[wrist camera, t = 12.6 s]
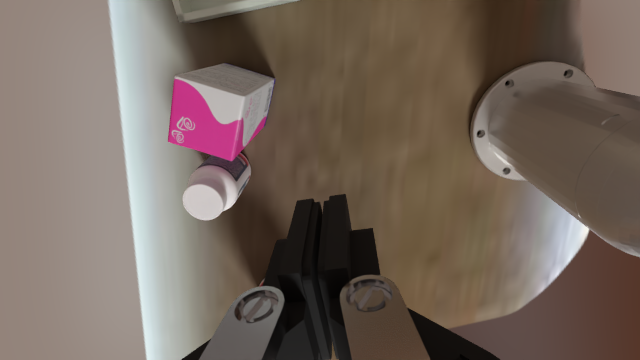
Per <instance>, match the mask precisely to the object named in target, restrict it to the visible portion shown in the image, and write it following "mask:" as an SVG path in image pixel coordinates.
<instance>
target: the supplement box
mask: <svg viewBox="0 0 640 360" xmlns="http://www.w3.org/2000/svg"><path fill="white" fill-rule="evenodd" d="M274 84H275V78H272V77H269V76H266V75H263V74H260V73H256V72H253V71H250V70H247V69H244V68H241V67H238V66H234V65H231V64H228V63H223V64H219V65H215V66H211V67H207V68H203V69H199V70H195V71H191V72H187V73H183V74H178V75H175V77H174V86H173V96H172V106H171V116H170V126H169V135H168V142H170V143H173V144H177V145H180V146H184V147H187V148H191V149H194V150H198V151H201V152H204V153H207V154H210V155H214V156H217V157H220V158H223V159H226V160H229V161H233V160H234V159H235V157H236V156H237V155H238V154H239V153H240V152H241V151H242V150H243V149H244V148H245V147H246V145H247V144H248V143H249V142H250V141H251V140H252V139H253V138H254V137H255V136H256V135H257V134H258V132H259V131H260V130H261V129H262V128H263V127H264V126H265V123H266V119H267V115H268V111H269V107H270V102H271V98H272V93H273V89H274Z"/></svg>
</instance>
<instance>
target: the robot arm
mask: <svg viewBox="0 0 640 360" xmlns="http://www.w3.org/2000/svg"><path fill="white" fill-rule="evenodd" d="M564 72H565V74H564ZM506 81H508V83H507V85H505V82H506ZM479 130H480V132H479V133H478V134H477V132H478V131H479ZM470 138H471V143H472V147H473V149H474V152H475V154H476V156H477V157H478V159H479V160H480V161H481V163H482V164H484V165H485V166H486V167H487V168H488V169H489V170H491V171H492V172H493V173H495V174H497V175H499V176H501V177H504V178H508V179H512V180H528V181H529V182H530V183H531V184H533V185H534V186H535V187H536V188H538V189H539V190H540V191H542V192H543V193H544V194H545V195H547V196H548V197H549V198H551V199H552V200H553V201H554V202H556V203H557V204H558V205H560V206H561V207H562V208H563V209H565V210H566V211H567V212H569V213H570V214H571V215H572V216H574V217H575V218H576V219H577V220H579V221H580V222H581V223H583V224H584V225H585V226H586V227H588V228H589V229H590V230H591V231H593V232H594V233H595V234H597V235H598V236H599V237H601V238H602V239H603V240H605V241H606V242H608V243H609V244H611V245H612V246H614V247H616V248H618V249H620V250H622V251H624V252H626V253H628V254H631V255H634V256H638V257H640V97H639V96H635V95H630V94H625V93H620V92H615V91H611V90H606V89H601V88H596V87H595V85H594V83H593V81H592V80H591V79H590V78H589V77H588V76H587V75H586V73H584V72H583V71H581V70H580V69H578V68H576V67H574V66H571V65H568V64H566V63H560V62H553V61H540V62H534V63H529V64H526V65H523V66H520V67H517V68H515V69H513V70H512V71H510V72H508V73H506V74H504V75H503V76H502V77H501V78H499V79H498V80H497V81H495V82H494V83H493V84H492V85H491V86H490V87H489V89H488V90H487V91H486V92H485V93H484V95H483V96H482V98H481V99H480V101H479V102H478V104H477V106H476V109H475V111H474V113H473V117H472V121H471V127H470ZM504 168H505V169H504ZM503 169H504V170H503ZM332 342H333V346H334V351H335V355H336V358H337V359H339V360H500V359H499V358H497V357H496V356H494V355H493V354H491V353H490V352H488V351H486V350H484V349H483V348H481V347H479V346H477V345H475V344H473V343H472V342H470V341H468V340H466V339H464V338H462V337H461V336H459V335H457V334H455V333H453V332H451V331H449V330H448V329H446V328H444V327H442V326H440V325H438V324H437V323H435V322H433V321H431V320H429V319H427V318H425V317H424V316H422V315H420V314H418V313H416V312H414V311H413V310H411V309H409V308H407V307H406V305H405V303H404V300H403V298H402V296H401V294H400V292H399V289H398V288H397V286H396V285H395V283H394V282H392V281H391V280H389V279H388V278H385V277H383V276H381V275H380V269H379V263H378V257H377V251H376V245H375V239H374V233H373V228H369V229H361V230H353V231H352V229H351V223H350V217H349V211H348V205H347V199H346V194H342V195H335V196H330V197H329V201H324V206H323V214H322V209H321V204H320V202H314V199H306V200H299V201H297V203H296V207H295V210H294V214H293V218H292V222H291V225H290V229H289V233H288V237H287V239H280V240H277V242H276V244H275V247H274V250H273V254H272V257H271V260H270V263H269V266H268V269H267V273H266V276H265V279H264V282H263V285H262V286H261V287H256V288H253V289H250V290H248V291H246V292H244V293H243V294H241V295H240V296H239V297H238V298H236V299H235V301H234V302H233V303H232V305H231V306H230V308H229V309H228V311H227V313H226V315H225V316H224V318H223V320H222V321H221V323H220V325H219V326H218V328H217V330H216V332H215V333H214V335H213V337H212V338H211V339H210V340H209V341H207V342H206V343H204V344H203V345H202V346H200V347H199V348H197V349H196V350H194V351H193V352H192V353H190V354H189V355H187V356H186V357H184V358H183V359H182V360H329V359H331V356H332Z"/></svg>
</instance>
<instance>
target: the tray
mask: <svg viewBox="0 0 640 360" xmlns="http://www.w3.org/2000/svg"><path fill="white" fill-rule="evenodd" d="M294 1H299V0H172V2H173V5H174V8H175V12H176V15H177V18H178V21H179V22H182V23H195V22H200V21H205V20H210V19H214V18H219V17H224V16H228V15H233V14H238V13H243V12H247V11H252V10H257V9H261V8H266V7H271V6H276V5H280V4H285V3H290V2H294Z"/></svg>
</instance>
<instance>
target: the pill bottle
mask: <svg viewBox="0 0 640 360" xmlns="http://www.w3.org/2000/svg"><path fill="white" fill-rule="evenodd" d="M250 176H251V167H250V164H249V162H248V160H247V158H246V157H245V156H244V155H243V154H242V153H239V154H238V155H237V156H236V157H235V159H234V160H233V161H229V160H226V159H223V158H220V157H217V156H214V155H211V156H210V157H209V158H208V159H207V160H206V161H205V162H204V163H202V164H201V165H200V166H199V167H198V168H197V169H196V170H195V171H194V172H193V173H192V175H191V176H190V178H189V181H188V188H187V189H186V190H185V192H184V194H183V204H184V207H185V209H186V210H187V211H188V212H189V213H190V214H191V215H192V216H194V217H195V218H198V219H201V220H211V219H214V218H216V217H218V216H219V215H220V214H221V212H222V211H225V210H227V209H229V208H230V207H231V206H233V204H234V203H235V202H236V200H237V199H238V197H239V196H240V194H241V193H242V191H243V189H244V188H245V186H246V184H247V183H248V181H249V179H250Z"/></svg>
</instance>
